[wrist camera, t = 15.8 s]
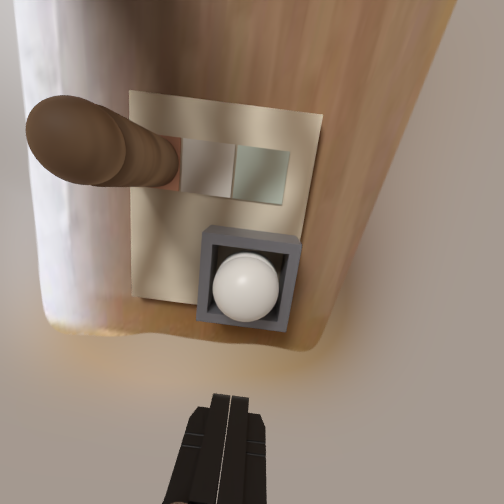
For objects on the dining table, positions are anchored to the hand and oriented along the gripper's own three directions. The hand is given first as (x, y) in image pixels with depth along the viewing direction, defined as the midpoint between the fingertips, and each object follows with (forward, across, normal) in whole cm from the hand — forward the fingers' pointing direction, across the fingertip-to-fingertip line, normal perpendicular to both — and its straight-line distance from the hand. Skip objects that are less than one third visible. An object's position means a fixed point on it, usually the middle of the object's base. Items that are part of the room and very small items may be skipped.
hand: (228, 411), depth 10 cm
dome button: (+16, 0, 0) cm, 16 cm away
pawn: (+17, +10, -10) cm, 22 cm away
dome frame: (+17, 0, 0) cm, 17 cm away
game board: (+19, +4, -6) cm, 20 cm away
